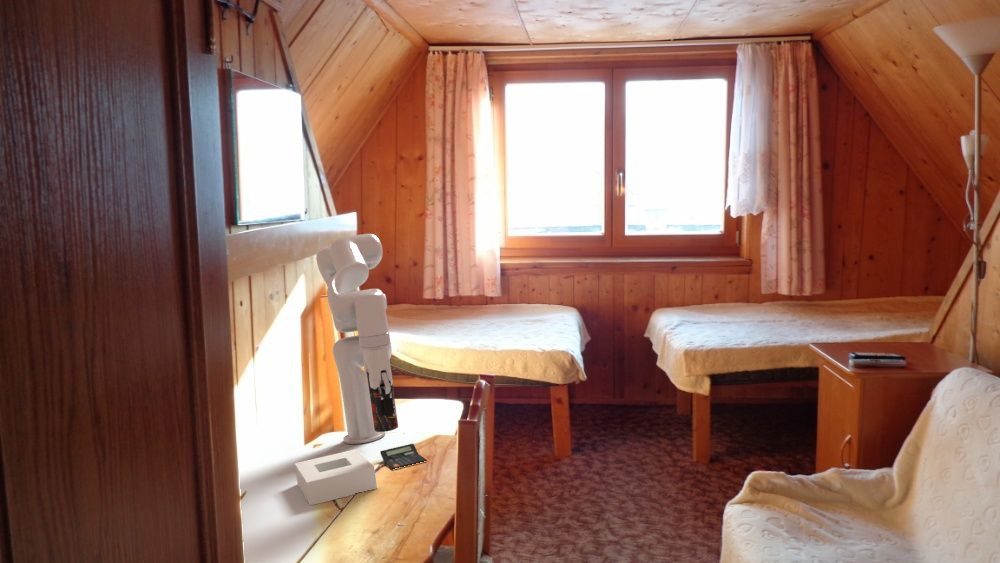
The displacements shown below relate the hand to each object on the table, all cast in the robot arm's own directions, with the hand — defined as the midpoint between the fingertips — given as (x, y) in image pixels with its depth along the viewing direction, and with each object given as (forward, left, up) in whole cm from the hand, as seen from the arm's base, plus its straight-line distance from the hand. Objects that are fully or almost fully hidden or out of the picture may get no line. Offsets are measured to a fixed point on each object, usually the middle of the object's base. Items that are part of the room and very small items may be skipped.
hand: (384, 411), depth 195 cm
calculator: (-10, +6, -17) cm, 21 cm away
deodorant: (0, 0, -5) cm, 5 cm away
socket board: (-2, -14, -17) cm, 22 cm away
